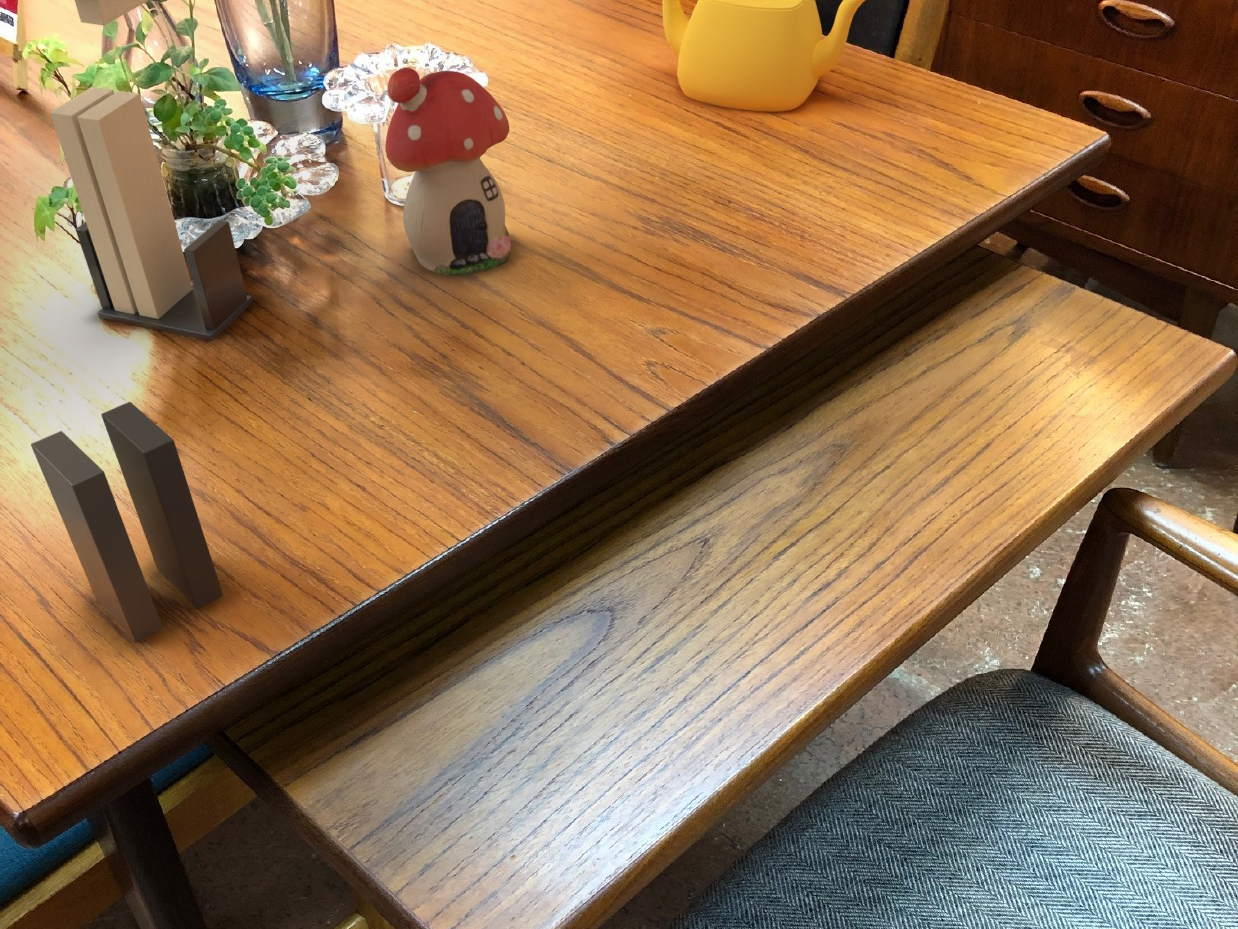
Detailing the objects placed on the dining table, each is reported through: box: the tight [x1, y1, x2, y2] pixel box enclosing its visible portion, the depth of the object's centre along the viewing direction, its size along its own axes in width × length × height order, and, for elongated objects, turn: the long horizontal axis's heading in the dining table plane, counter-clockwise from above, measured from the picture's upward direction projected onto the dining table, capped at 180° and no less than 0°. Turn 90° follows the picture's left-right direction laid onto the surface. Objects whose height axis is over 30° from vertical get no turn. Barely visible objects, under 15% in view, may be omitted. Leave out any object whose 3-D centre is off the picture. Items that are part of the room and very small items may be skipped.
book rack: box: [75, 219, 254, 342], centre depth 83 cm, size 9×6×7 cm, turn 72°
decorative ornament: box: [384, 67, 512, 276], centre depth 87 cm, size 9×7×15 cm
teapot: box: [661, 0, 866, 113], centre depth 113 cm, size 22×16×11 cm
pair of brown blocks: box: [30, 401, 224, 643], centre depth 61 cm, size 5×4×11 cm
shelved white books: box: [49, 86, 193, 319], centre depth 81 cm, size 4×4×14 cm
